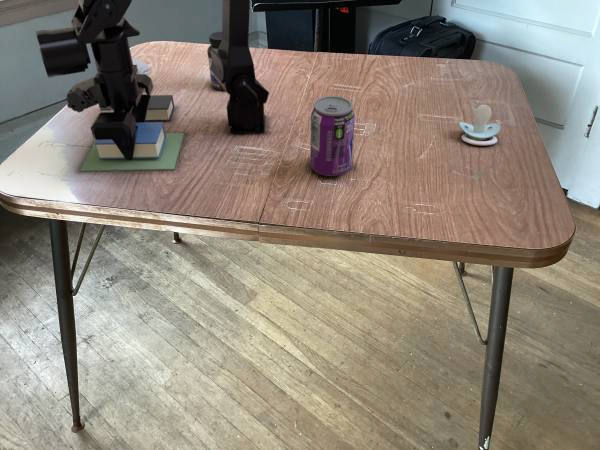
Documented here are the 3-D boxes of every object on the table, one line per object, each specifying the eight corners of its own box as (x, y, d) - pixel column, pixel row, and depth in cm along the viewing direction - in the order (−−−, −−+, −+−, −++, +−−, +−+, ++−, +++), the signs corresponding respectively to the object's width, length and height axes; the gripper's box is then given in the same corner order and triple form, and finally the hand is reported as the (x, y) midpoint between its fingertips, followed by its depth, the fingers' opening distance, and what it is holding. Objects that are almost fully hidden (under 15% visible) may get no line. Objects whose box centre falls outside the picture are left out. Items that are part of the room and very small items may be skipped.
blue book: (166, 137, 100) (163, 122, 98) (159, 158, 95) (156, 142, 93) (109, 138, 100) (105, 123, 98) (99, 159, 95) (94, 143, 93)
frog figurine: (121, 83, 120) (114, 52, 115) (154, 80, 121) (148, 50, 116) (120, 95, 115) (112, 64, 111) (153, 92, 116) (147, 61, 112)
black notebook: (174, 107, 111) (172, 95, 109) (170, 121, 107) (167, 108, 105) (110, 108, 111) (107, 95, 109) (103, 122, 106) (100, 109, 105)
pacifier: (500, 149, 99) (495, 131, 103) (509, 118, 94) (503, 101, 99) (459, 146, 99) (456, 129, 104) (466, 116, 95) (462, 99, 100)
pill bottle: (241, 79, 121) (238, 30, 114) (236, 91, 116) (232, 41, 109) (214, 78, 121) (209, 29, 114) (208, 90, 117) (202, 40, 110)
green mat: (184, 134, 103) (183, 133, 102) (174, 170, 93) (173, 168, 93) (99, 135, 102) (98, 134, 102) (80, 171, 93) (80, 169, 93)
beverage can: (348, 181, 91) (352, 117, 83) (306, 177, 92) (307, 113, 84) (353, 159, 96) (358, 96, 88) (314, 154, 97) (315, 92, 89)
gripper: (81, 43, 95) (102, 123, 105) (44, 91, 80) (73, 178, 90) (145, 42, 95) (160, 122, 105) (120, 90, 80) (140, 177, 90)
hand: (134, 148), depth 97 cm, fingers closed on blue book, 7 cm apart
